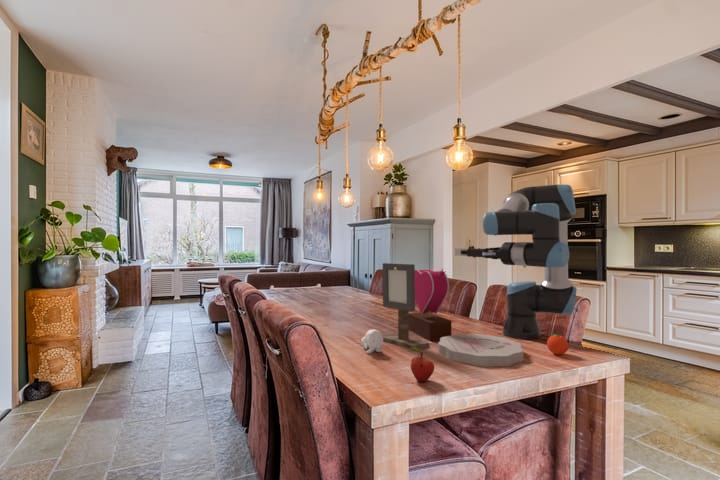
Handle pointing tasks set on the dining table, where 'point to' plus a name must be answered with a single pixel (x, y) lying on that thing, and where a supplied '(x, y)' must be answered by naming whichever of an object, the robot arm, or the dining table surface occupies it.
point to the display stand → (404, 334)
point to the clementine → (557, 344)
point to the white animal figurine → (372, 341)
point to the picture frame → (399, 286)
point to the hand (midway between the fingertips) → (456, 251)
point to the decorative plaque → (480, 349)
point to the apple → (421, 367)
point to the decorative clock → (430, 305)
